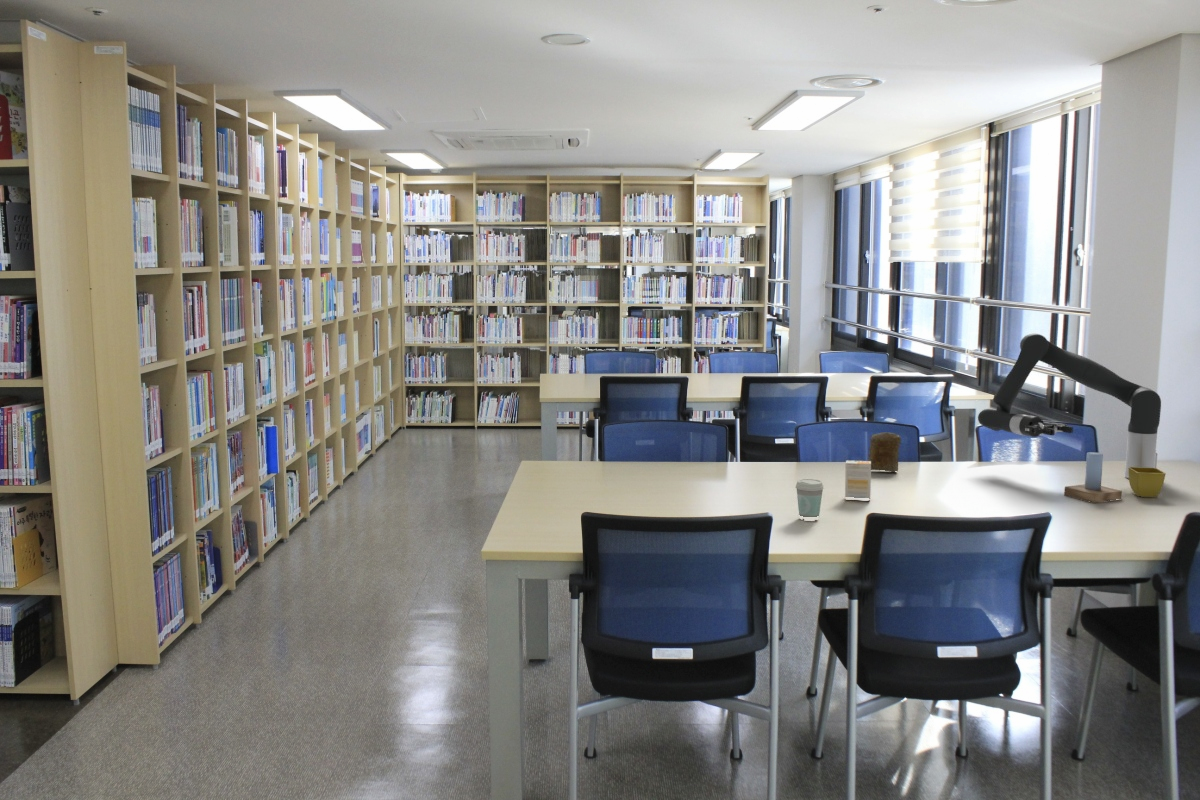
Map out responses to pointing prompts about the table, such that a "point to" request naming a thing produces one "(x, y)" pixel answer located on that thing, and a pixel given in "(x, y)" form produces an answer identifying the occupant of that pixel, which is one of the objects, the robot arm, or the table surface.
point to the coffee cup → (809, 497)
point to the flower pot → (1146, 481)
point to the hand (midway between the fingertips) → (1063, 431)
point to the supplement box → (858, 479)
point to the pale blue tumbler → (1093, 471)
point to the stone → (884, 451)
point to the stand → (1092, 493)
